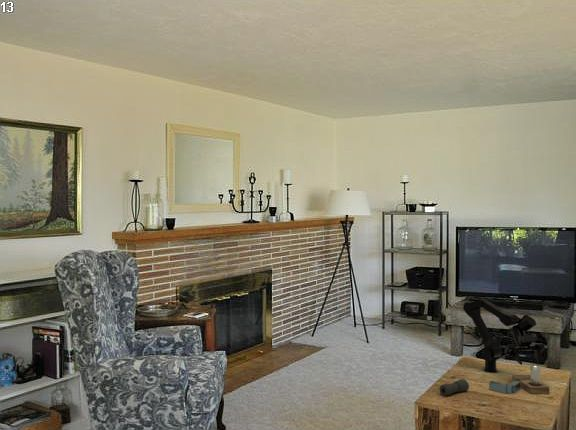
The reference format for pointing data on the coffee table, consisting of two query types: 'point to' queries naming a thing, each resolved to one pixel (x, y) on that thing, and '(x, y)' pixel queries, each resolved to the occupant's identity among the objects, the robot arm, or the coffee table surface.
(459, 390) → the flashlight
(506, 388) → the v block
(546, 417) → the coffee table surface
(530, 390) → the slotted block
